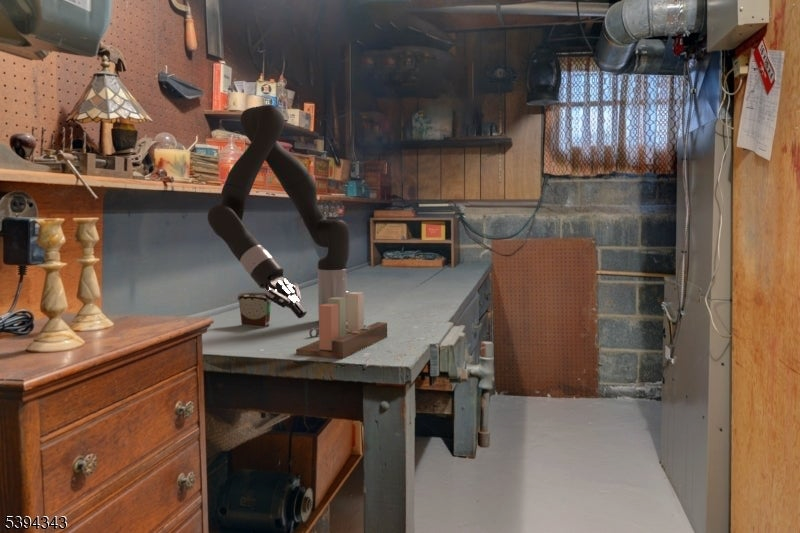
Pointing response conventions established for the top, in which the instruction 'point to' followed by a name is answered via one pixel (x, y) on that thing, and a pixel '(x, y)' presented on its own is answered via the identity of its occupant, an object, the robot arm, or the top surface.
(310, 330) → the combination wrench
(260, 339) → the top surface
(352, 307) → the tan upright block
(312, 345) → the brown wooden base
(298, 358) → the top surface
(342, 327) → the sage key
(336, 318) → the terracotta key
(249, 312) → the food container
